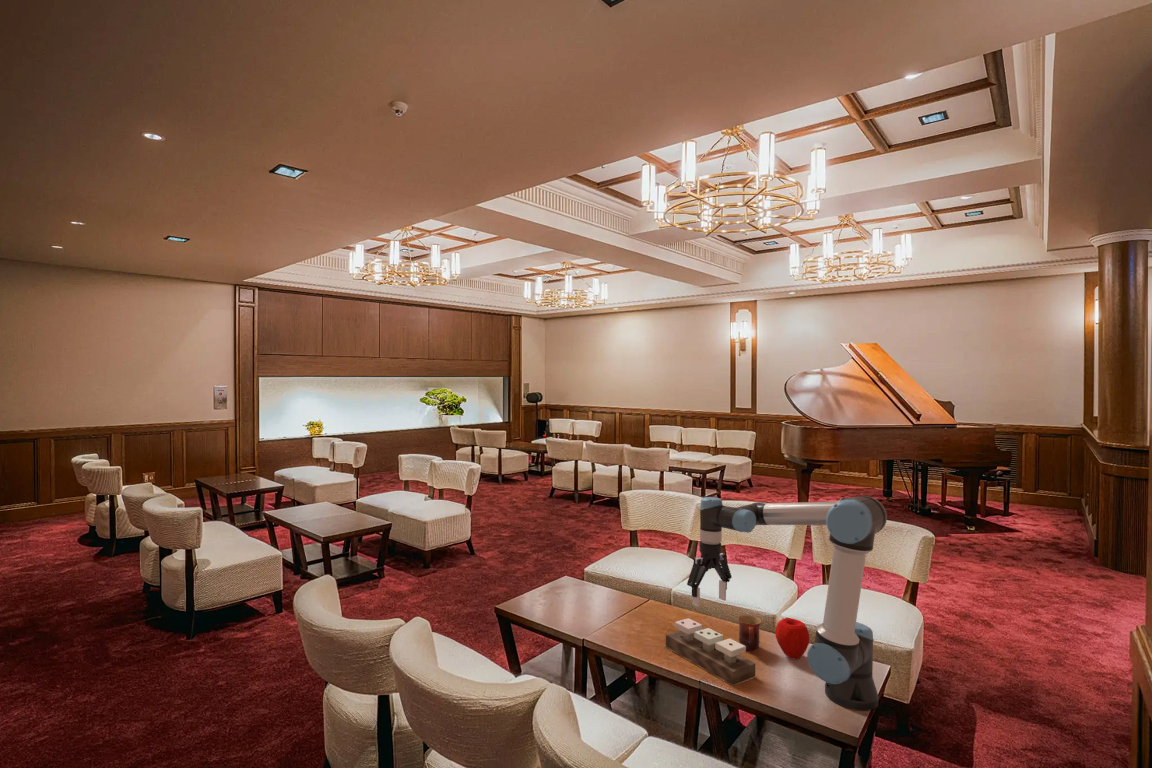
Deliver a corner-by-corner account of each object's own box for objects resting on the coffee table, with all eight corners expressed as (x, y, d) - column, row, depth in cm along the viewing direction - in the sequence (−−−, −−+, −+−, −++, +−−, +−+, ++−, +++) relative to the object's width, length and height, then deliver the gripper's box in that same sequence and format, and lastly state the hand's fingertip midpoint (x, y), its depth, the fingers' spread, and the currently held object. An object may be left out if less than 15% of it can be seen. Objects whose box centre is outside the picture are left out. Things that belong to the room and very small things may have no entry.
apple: (767, 650, 208) (768, 614, 208) (795, 647, 211) (796, 612, 211) (787, 666, 197) (788, 627, 197) (816, 662, 200) (817, 624, 200)
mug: (735, 640, 216) (736, 613, 216) (759, 643, 214) (760, 616, 214) (738, 655, 204) (739, 626, 204) (763, 657, 202) (764, 629, 203)
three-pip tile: (722, 653, 198) (723, 634, 198) (708, 658, 194) (709, 638, 194) (708, 645, 204) (708, 627, 204) (693, 650, 200) (694, 631, 200)
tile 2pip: (701, 642, 206) (702, 624, 206) (687, 646, 202) (688, 628, 203) (688, 635, 212) (688, 617, 212) (674, 639, 208) (674, 621, 208)
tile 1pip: (745, 665, 189) (745, 645, 190) (731, 670, 186) (731, 650, 186) (729, 656, 195) (729, 637, 195) (715, 661, 192) (715, 642, 192)
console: (756, 677, 188) (756, 663, 188) (732, 686, 182) (733, 672, 182) (687, 639, 216) (687, 628, 216) (664, 646, 209) (664, 634, 209)
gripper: (726, 535, 210) (725, 593, 209) (677, 543, 196) (676, 605, 196) (742, 539, 203) (741, 599, 203) (692, 548, 190) (691, 612, 190)
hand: (709, 602), depth 200 cm, fingers open, 12 cm apart
